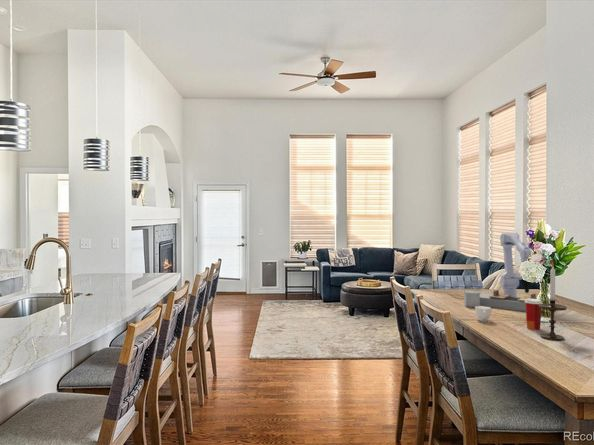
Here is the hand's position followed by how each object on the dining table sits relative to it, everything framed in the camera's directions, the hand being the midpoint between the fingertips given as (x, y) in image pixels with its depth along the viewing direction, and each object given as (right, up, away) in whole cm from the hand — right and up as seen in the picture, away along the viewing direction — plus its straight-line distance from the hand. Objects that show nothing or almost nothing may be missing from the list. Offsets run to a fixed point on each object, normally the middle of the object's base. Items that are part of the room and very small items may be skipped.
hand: (526, 292), depth 267 cm
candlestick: (-22, -11, -65) cm, 69 cm away
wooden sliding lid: (-11, -4, +10) cm, 16 cm away
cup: (-38, -10, -31) cm, 51 cm away
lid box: (-8, -10, +7) cm, 15 cm away
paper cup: (-21, -10, -48) cm, 53 cm away
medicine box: (-29, -10, +7) cm, 32 cm away
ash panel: (+1, -4, -1) cm, 5 cm away
